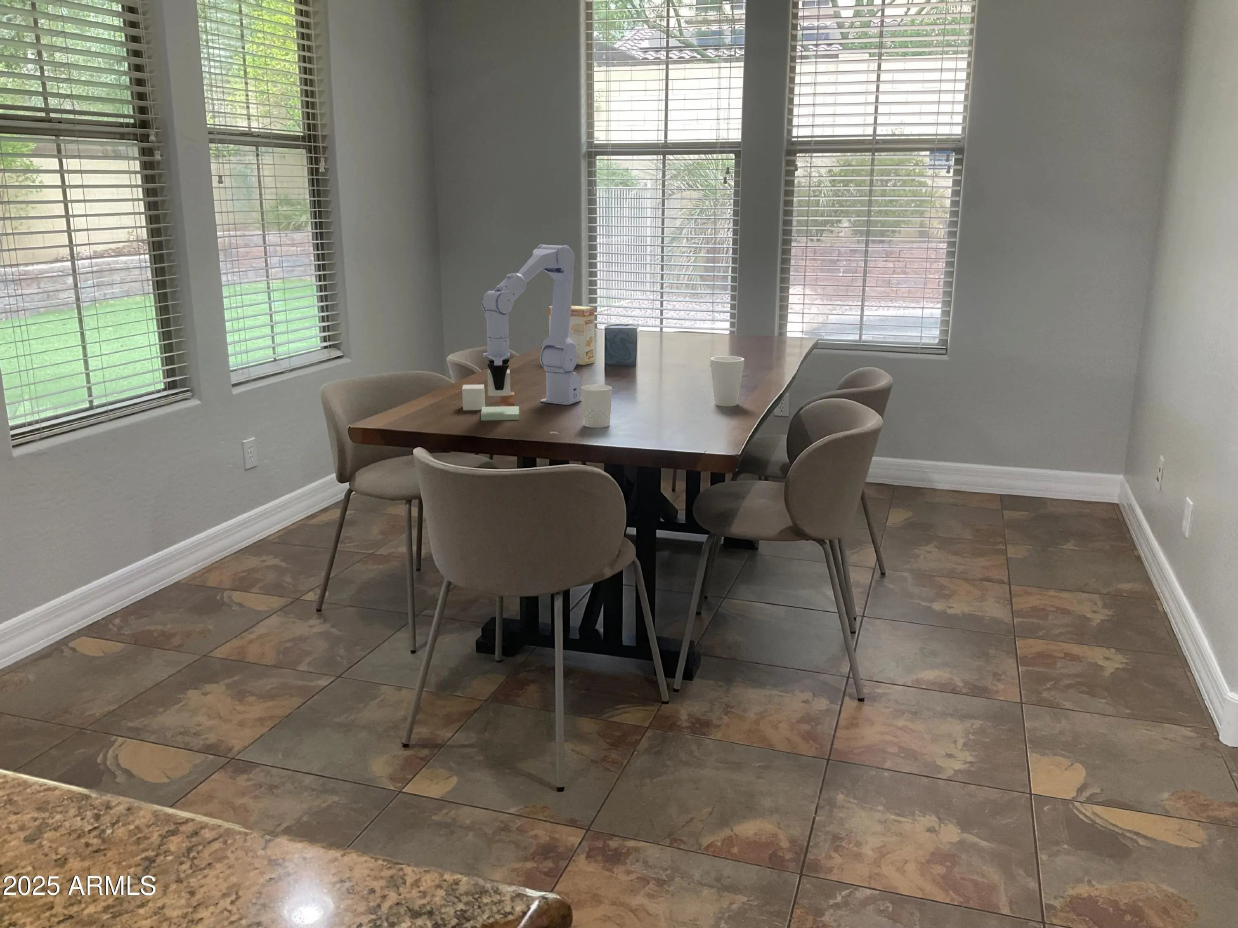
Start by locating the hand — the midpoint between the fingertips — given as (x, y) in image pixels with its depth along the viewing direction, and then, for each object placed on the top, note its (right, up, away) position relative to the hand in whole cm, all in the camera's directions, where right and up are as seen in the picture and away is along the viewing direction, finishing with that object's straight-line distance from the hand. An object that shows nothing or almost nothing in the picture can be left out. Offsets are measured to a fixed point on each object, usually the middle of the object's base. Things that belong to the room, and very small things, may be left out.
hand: (499, 387), depth 267 cm
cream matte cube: (0, -2, 0) cm, 2 cm away
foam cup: (+62, -4, +17) cm, 65 cm away
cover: (-8, -5, +12) cm, 15 cm away
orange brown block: (+1, -5, +13) cm, 14 cm away
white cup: (+26, -11, -8) cm, 29 cm away
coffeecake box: (+16, +15, +85) cm, 88 cm away
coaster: (0, -7, +2) cm, 8 cm away
